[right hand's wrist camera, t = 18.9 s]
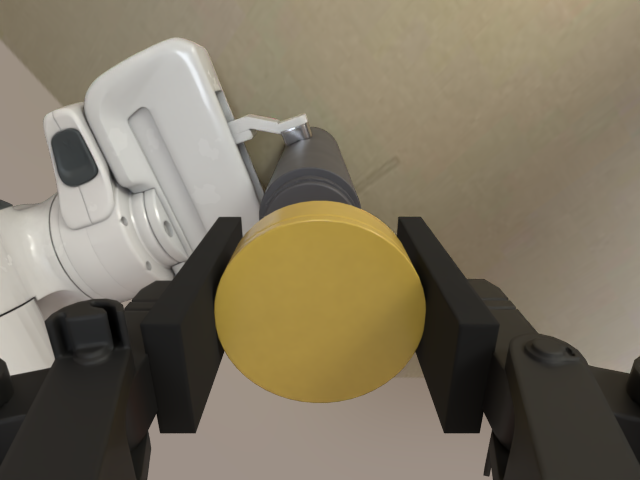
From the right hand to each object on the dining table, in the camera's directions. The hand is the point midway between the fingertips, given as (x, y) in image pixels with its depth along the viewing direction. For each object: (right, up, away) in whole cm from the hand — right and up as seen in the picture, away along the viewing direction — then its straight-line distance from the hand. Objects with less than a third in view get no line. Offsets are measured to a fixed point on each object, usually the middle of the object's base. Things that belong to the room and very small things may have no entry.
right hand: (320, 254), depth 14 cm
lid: (0, -1, -4) cm, 4 cm away
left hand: (0, +5, +13) cm, 14 cm away
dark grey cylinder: (-1, +7, +19) cm, 21 cm away
